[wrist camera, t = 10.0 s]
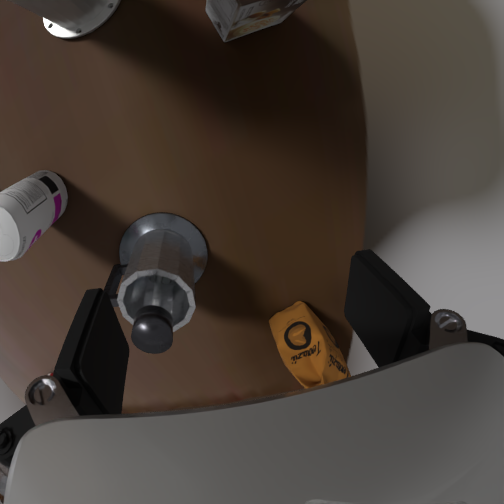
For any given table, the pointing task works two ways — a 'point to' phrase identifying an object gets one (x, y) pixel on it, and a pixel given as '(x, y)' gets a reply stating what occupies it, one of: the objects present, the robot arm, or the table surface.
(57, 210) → the supplement can
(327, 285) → the table surface
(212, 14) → the coffee box
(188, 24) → the table surface
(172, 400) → the table surface
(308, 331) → the coffee package
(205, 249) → the press pot
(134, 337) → the plunger
